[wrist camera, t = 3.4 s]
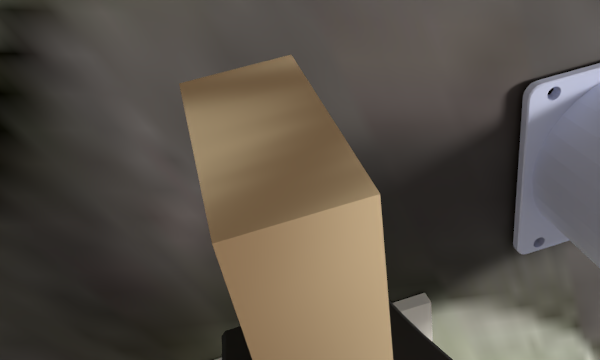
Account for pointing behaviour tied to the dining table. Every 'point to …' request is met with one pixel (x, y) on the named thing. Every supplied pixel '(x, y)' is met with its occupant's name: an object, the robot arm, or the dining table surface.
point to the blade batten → (289, 216)
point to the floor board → (415, 313)
